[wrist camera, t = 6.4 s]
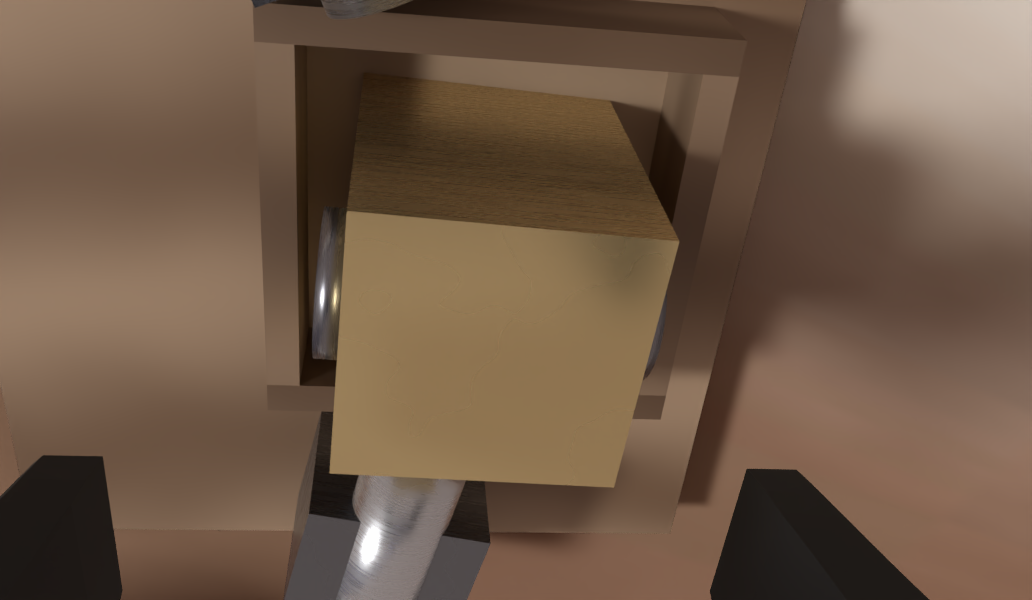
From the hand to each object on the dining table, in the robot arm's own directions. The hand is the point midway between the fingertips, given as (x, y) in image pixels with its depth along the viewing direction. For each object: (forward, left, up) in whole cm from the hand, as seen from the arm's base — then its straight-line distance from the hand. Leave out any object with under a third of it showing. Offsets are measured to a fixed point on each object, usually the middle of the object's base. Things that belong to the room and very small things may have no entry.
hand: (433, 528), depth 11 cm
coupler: (0, -1, -9) cm, 9 cm away
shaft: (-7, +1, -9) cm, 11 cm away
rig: (0, +1, -10) cm, 10 cm away
